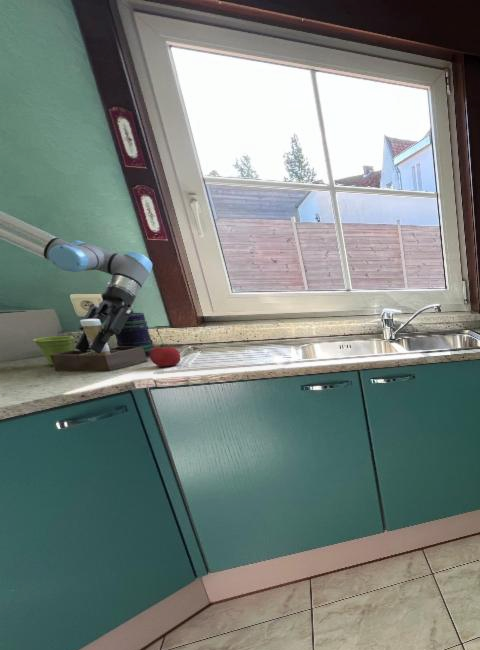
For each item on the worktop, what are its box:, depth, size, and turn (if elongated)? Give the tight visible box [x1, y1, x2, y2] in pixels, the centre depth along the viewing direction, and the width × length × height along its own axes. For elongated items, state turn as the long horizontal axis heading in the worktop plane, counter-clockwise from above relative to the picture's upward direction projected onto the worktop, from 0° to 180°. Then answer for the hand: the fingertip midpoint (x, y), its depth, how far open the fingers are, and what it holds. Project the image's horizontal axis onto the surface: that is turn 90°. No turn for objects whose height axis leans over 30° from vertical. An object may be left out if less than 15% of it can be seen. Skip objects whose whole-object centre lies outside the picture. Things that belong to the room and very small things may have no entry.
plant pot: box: [32, 335, 75, 367], centre depth 164 cm, size 9×9×9 cm
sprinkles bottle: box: [79, 318, 110, 355], centre depth 159 cm, size 5×5×14 cm
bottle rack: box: [50, 345, 148, 372], centre depth 164 cm, size 16×16×5 cm
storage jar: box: [114, 312, 156, 358], centre depth 178 cm, size 10×10×15 cm
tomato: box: [149, 343, 182, 368], centre depth 166 cm, size 8×8×7 cm
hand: (87, 350), depth 156 cm, fingers closed on sprinkles bottle, 4 cm apart
